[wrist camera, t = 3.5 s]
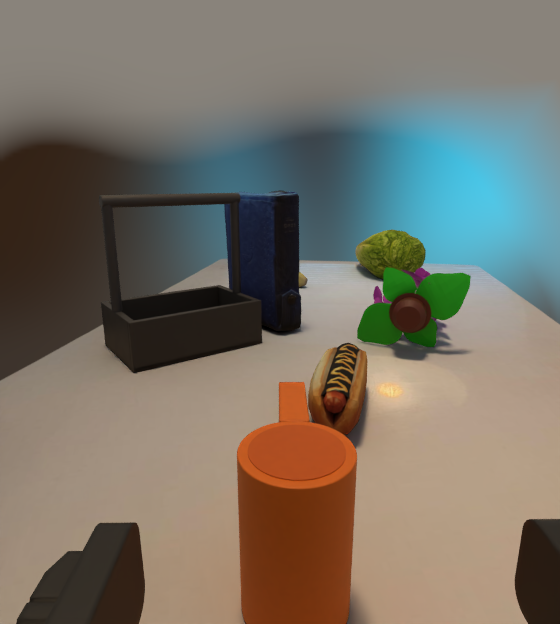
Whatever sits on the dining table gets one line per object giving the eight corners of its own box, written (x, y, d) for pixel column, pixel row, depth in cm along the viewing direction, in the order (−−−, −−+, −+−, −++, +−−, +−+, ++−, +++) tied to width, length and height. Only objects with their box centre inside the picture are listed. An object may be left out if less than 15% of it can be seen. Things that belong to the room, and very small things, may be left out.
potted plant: (369, 385, 59) (394, 327, 91) (499, 333, 53) (477, 290, 85) (325, 298, 58) (366, 271, 91) (451, 236, 52) (446, 231, 85)
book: (306, 330, 68) (308, 190, 63) (277, 337, 65) (277, 190, 59) (251, 310, 79) (249, 189, 74) (225, 315, 76) (220, 189, 70)
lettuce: (390, 243, 123) (355, 216, 119) (443, 250, 100) (402, 217, 96) (365, 281, 124) (329, 254, 120) (412, 296, 101) (370, 265, 97)
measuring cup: (357, 654, 21) (367, 487, 19) (237, 655, 21) (231, 487, 19) (331, 502, 32) (336, 381, 29) (249, 503, 32) (247, 381, 29)
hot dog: (299, 443, 39) (299, 389, 37) (322, 379, 51) (323, 337, 50) (359, 451, 38) (362, 395, 36) (368, 384, 50) (370, 340, 49)
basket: (132, 373, 53) (115, 196, 48) (103, 345, 62) (87, 194, 57) (263, 342, 63) (261, 193, 58) (222, 322, 72) (217, 192, 67)
